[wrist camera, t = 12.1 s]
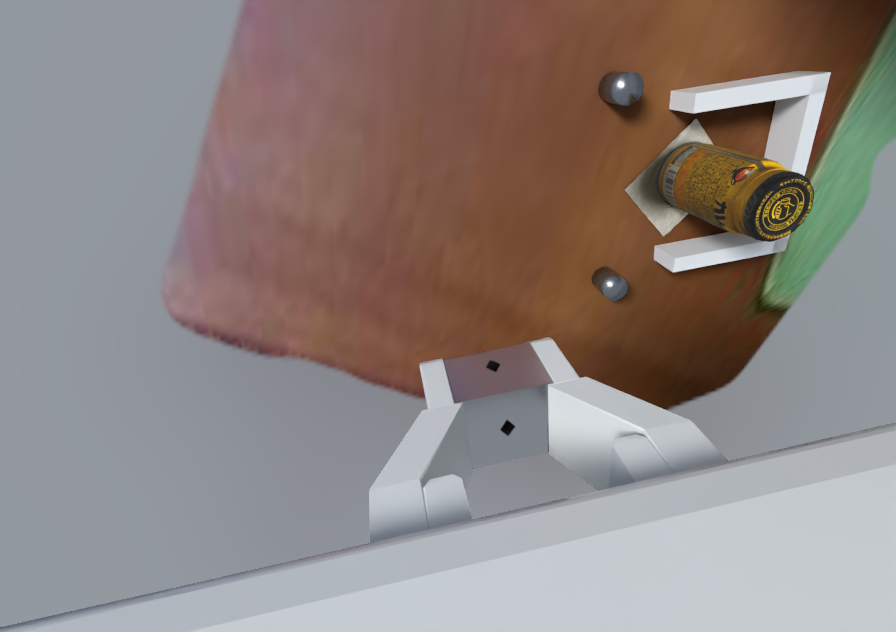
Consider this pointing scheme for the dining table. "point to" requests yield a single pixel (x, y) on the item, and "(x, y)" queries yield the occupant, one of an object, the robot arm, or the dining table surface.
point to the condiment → (721, 189)
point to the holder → (785, 145)
